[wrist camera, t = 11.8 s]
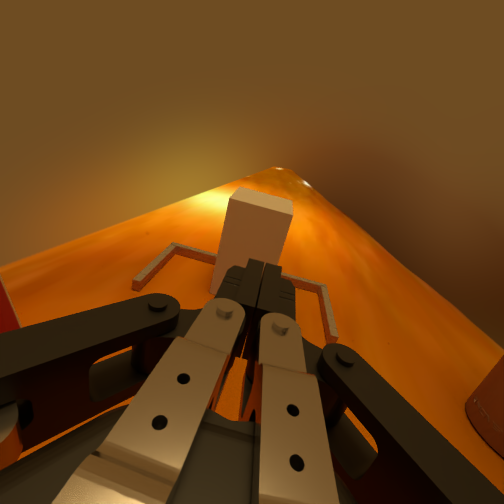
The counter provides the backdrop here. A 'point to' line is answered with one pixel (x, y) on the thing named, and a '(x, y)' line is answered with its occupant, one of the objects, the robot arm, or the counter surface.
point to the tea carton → (251, 231)
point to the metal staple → (211, 258)
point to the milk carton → (7, 311)
